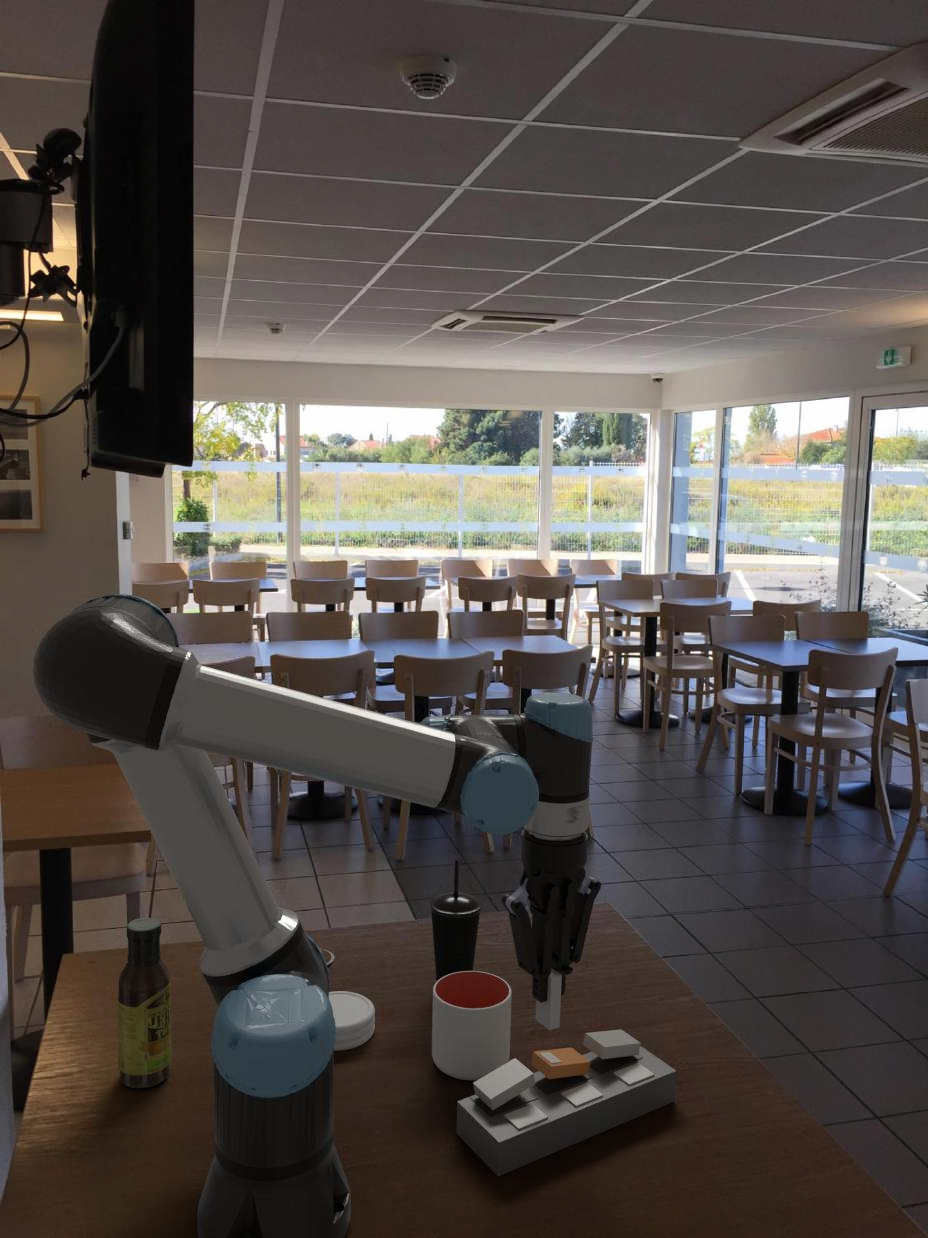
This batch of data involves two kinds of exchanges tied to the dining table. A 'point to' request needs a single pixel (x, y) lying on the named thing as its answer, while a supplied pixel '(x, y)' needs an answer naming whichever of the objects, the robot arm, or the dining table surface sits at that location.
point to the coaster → (352, 1019)
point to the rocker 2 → (560, 1063)
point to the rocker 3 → (611, 1044)
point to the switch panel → (564, 1109)
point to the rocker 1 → (504, 1084)
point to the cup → (471, 1024)
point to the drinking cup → (454, 929)
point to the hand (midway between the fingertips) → (547, 1023)
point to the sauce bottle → (144, 1009)
